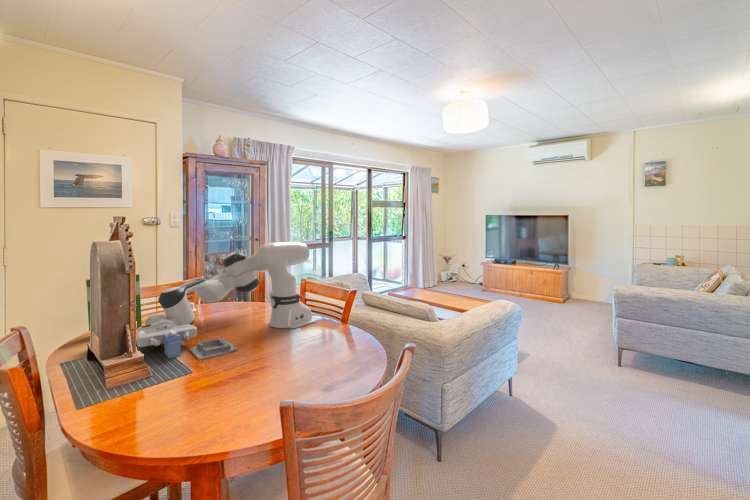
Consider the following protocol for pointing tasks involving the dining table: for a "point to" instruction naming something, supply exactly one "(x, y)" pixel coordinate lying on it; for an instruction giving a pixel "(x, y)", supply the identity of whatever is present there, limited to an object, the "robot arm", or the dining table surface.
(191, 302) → the pipe fitting
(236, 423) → the dining table surface
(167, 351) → the servo
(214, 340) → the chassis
